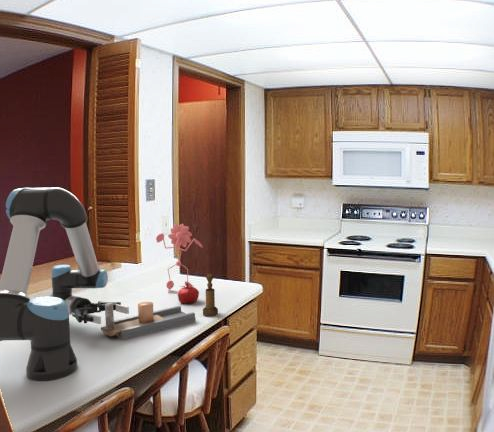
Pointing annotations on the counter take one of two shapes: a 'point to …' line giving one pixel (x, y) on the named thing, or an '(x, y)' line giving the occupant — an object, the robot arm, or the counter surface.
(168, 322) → the track
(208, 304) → the bronze statuette
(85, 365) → the counter surface
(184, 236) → the pink branching stem figurine
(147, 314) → the canister
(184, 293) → the pomegranate
